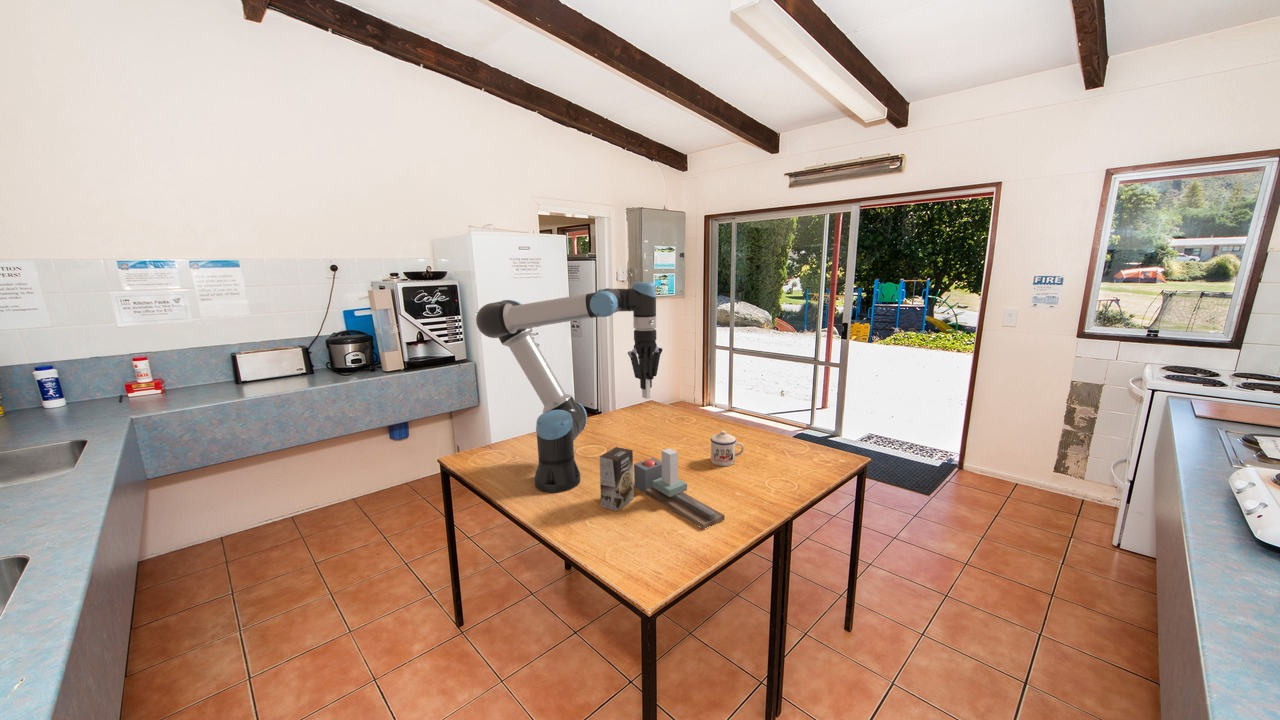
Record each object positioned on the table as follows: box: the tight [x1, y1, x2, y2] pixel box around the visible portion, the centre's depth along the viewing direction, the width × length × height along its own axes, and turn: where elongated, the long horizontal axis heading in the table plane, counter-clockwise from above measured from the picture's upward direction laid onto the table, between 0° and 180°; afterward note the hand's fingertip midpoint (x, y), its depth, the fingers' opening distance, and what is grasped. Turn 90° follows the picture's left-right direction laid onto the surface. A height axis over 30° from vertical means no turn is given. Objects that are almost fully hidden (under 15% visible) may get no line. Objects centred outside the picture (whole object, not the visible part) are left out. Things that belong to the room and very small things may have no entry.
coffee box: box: [599, 446, 634, 512], centre depth 140 cm, size 9×6×16 cm
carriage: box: [653, 447, 688, 497], centre depth 142 cm, size 7×8×12 cm
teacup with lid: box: [710, 430, 745, 467], centre depth 169 cm, size 12×9×12 cm
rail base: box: [645, 487, 725, 530], centre depth 139 cm, size 8×26×3 cm, turn 37°
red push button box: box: [633, 457, 662, 495], centre depth 151 cm, size 8×6×8 cm
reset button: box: [643, 459, 655, 468], centre depth 151 cm, size 3×3×5 cm
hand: (646, 397), depth 160 cm, fingers closed
